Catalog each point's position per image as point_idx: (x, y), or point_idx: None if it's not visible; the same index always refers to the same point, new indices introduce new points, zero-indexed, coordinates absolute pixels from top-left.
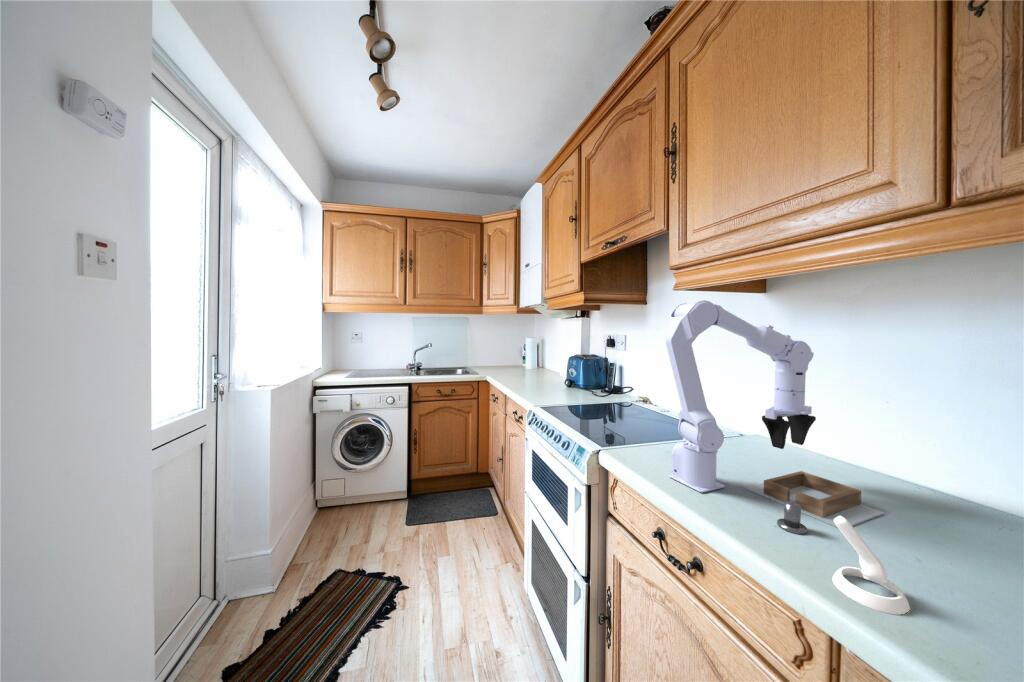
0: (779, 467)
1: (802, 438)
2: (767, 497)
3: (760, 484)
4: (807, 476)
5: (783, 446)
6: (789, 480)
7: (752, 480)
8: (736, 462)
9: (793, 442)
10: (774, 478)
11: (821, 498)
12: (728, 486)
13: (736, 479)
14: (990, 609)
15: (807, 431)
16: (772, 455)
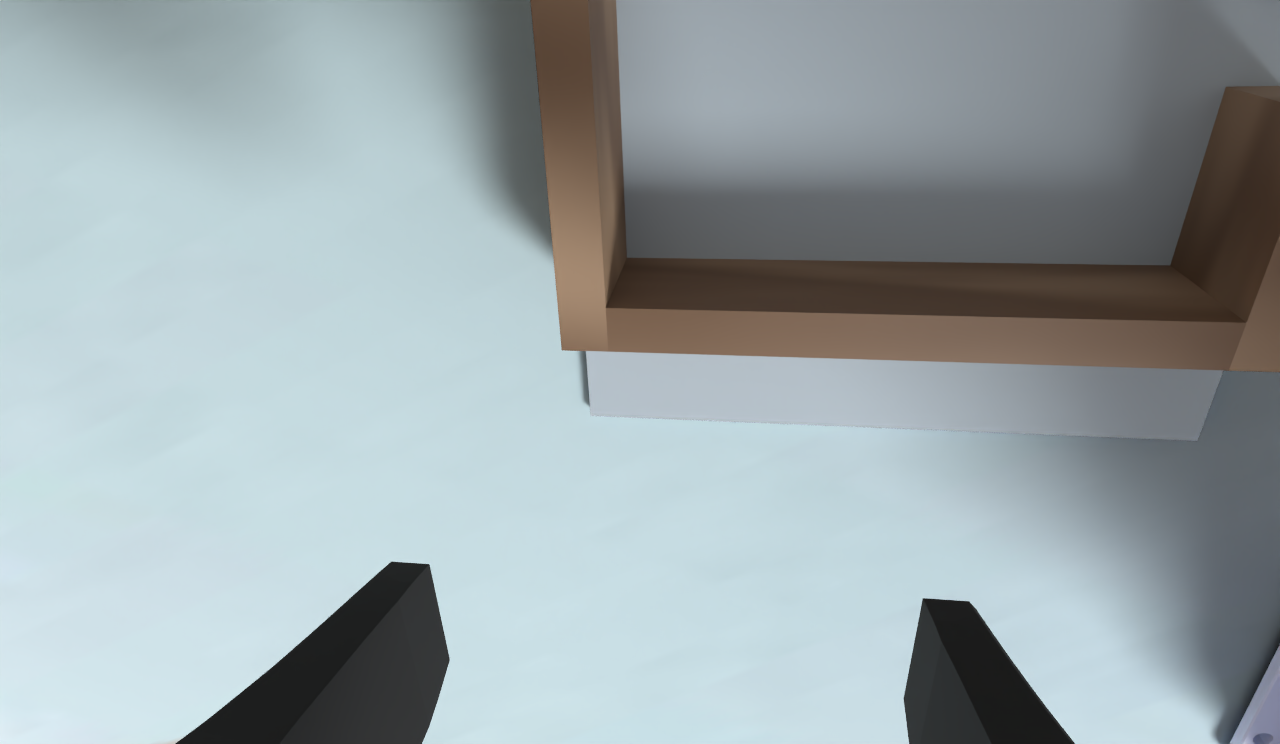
0: (399, 539)
1: (377, 644)
2: None
3: (986, 423)
4: (610, 262)
5: (964, 625)
6: (875, 296)
7: (916, 498)
8: (642, 706)
9: (442, 652)
10: (1101, 354)
11: (792, 8)
12: (1270, 515)
13: (1024, 558)
14: None
15: (215, 733)
16: (224, 663)
